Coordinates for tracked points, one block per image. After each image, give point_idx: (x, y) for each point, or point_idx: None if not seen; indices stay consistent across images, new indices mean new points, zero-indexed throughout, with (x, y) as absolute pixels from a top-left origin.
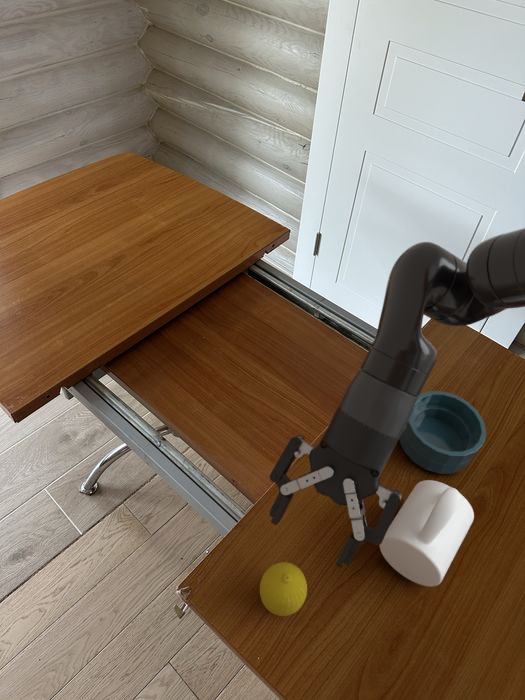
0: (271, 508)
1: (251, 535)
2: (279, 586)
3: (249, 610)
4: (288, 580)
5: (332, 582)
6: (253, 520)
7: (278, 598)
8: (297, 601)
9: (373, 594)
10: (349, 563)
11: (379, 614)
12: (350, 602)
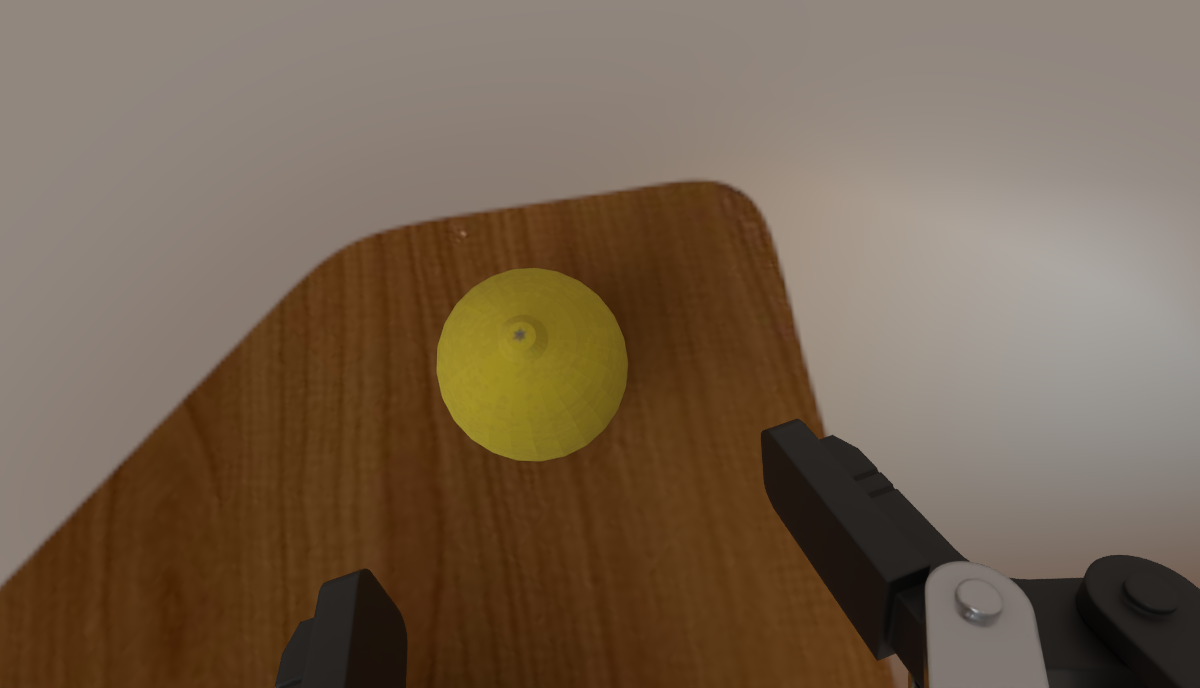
0: (868, 462)
1: None
2: (520, 297)
3: None
4: (506, 332)
5: (464, 578)
6: None
7: (494, 278)
8: (439, 345)
9: None
10: (290, 642)
11: (270, 644)
12: None
